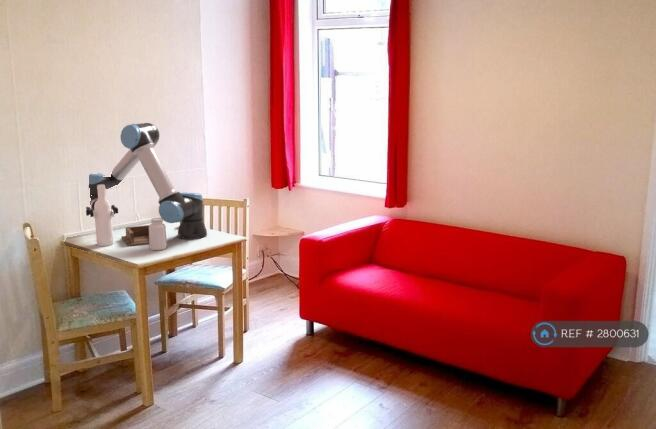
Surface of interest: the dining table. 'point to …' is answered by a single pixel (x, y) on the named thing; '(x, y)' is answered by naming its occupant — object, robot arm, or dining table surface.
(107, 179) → the robot arm
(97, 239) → the bottle
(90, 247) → the dining table surface
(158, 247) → the pill bottle
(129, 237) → the bottle rest
